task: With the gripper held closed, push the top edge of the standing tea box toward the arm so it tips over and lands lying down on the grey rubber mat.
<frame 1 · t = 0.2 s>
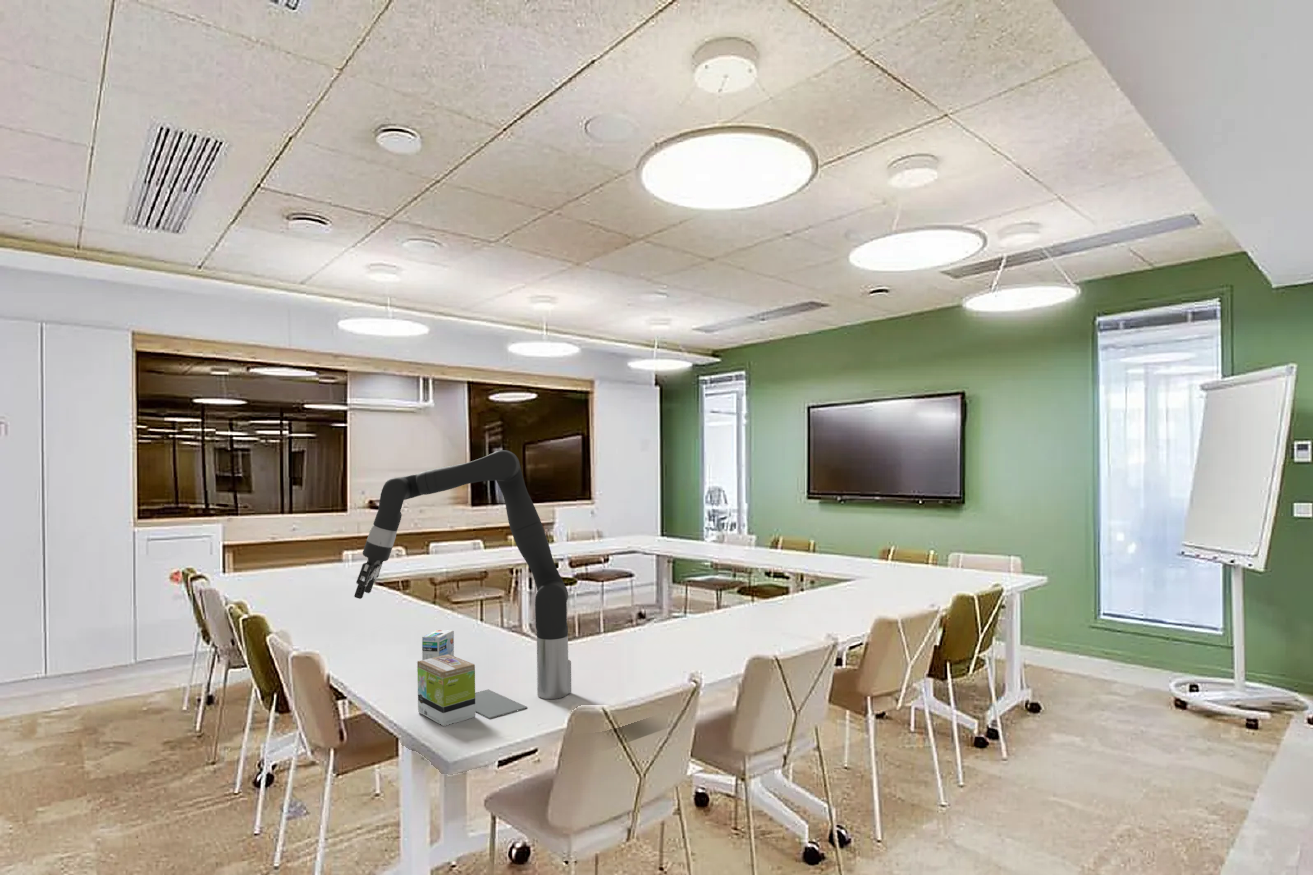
hand: (362, 595, 213), 31 cm above the table, tool tilted 20°, fingers open, 8 cm apart
mat: (488, 704, 208), on the table
light bulb box: (438, 665, 250), on the table
tea box: (446, 716, 199), on the table
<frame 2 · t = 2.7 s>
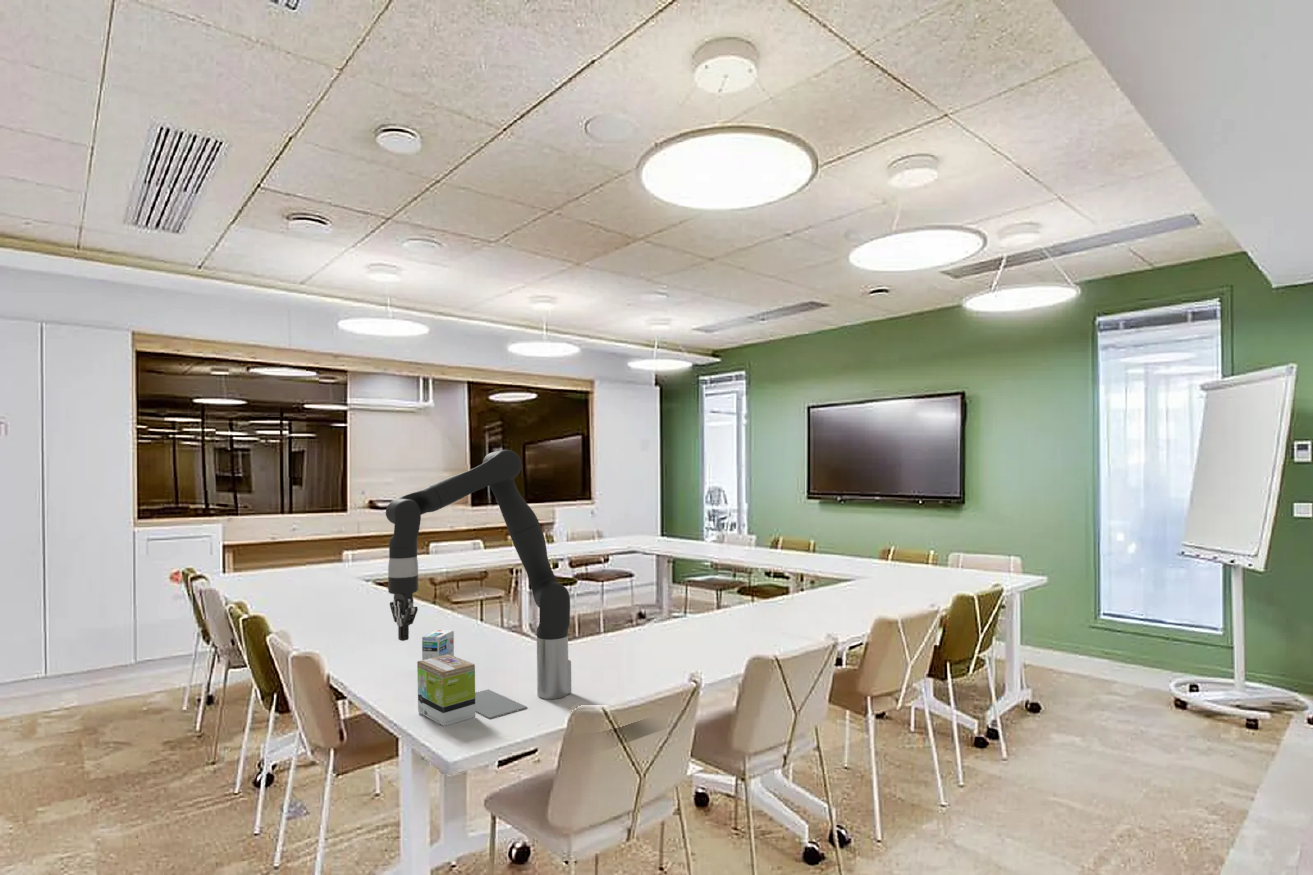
hand: (403, 639, 192), 23 cm above the table, tool pointing down, fingers closed
nothing on the table moved.
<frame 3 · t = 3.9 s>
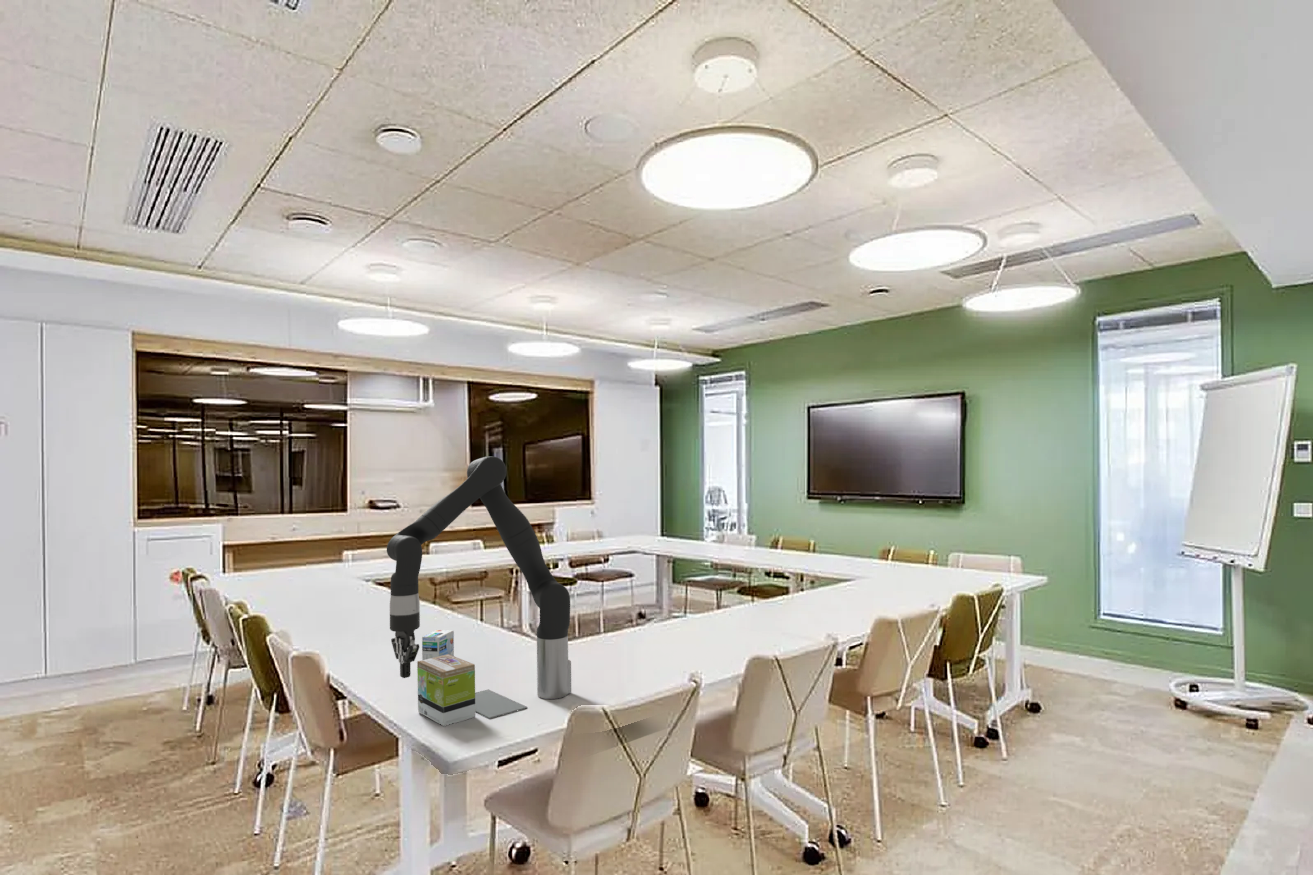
hand: (405, 676, 192), 13 cm above the table, tool pointing down, fingers closed
nothing on the table moved.
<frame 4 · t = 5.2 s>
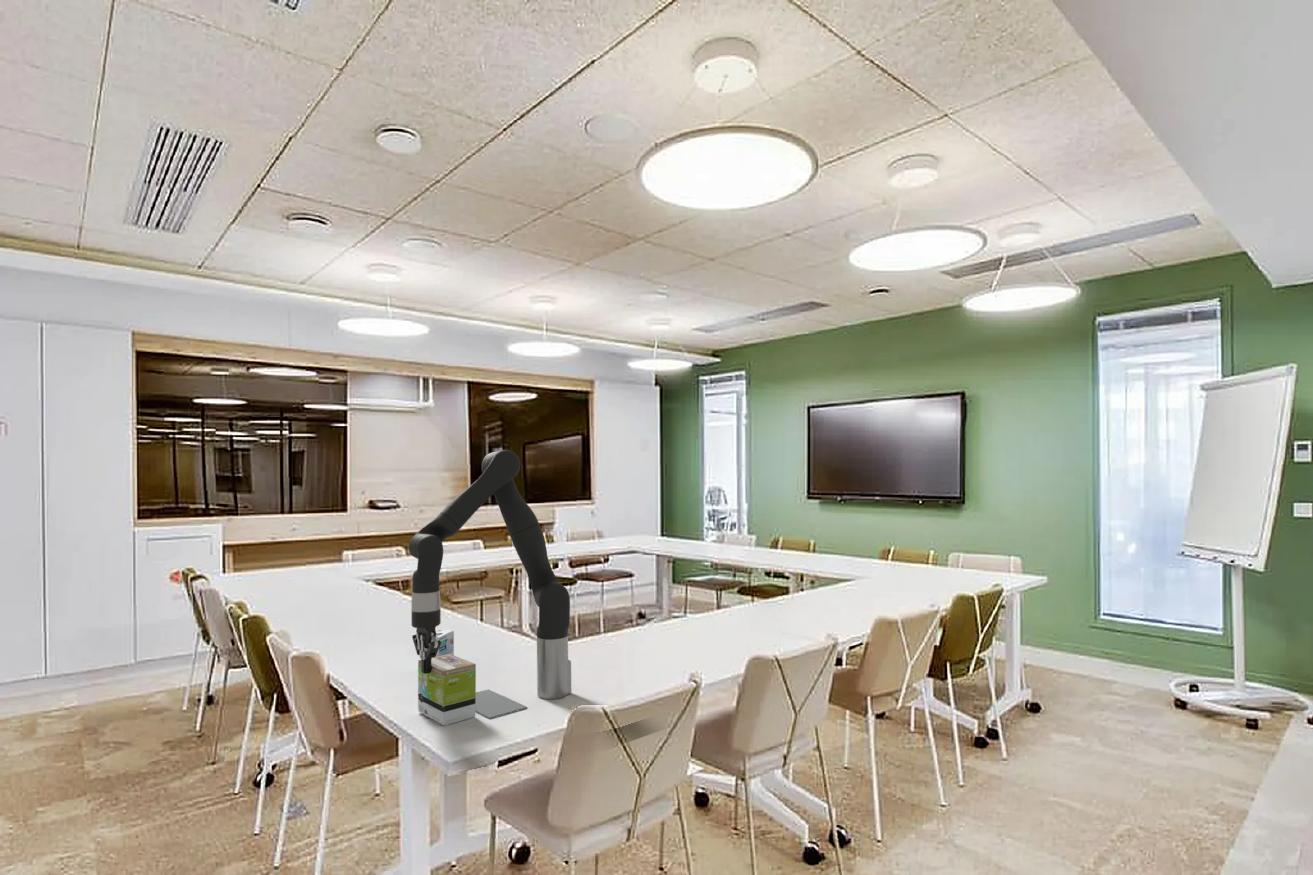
hand: (426, 672, 196), 13 cm above the table, tool pointing down, fingers closed
nothing on the table moved.
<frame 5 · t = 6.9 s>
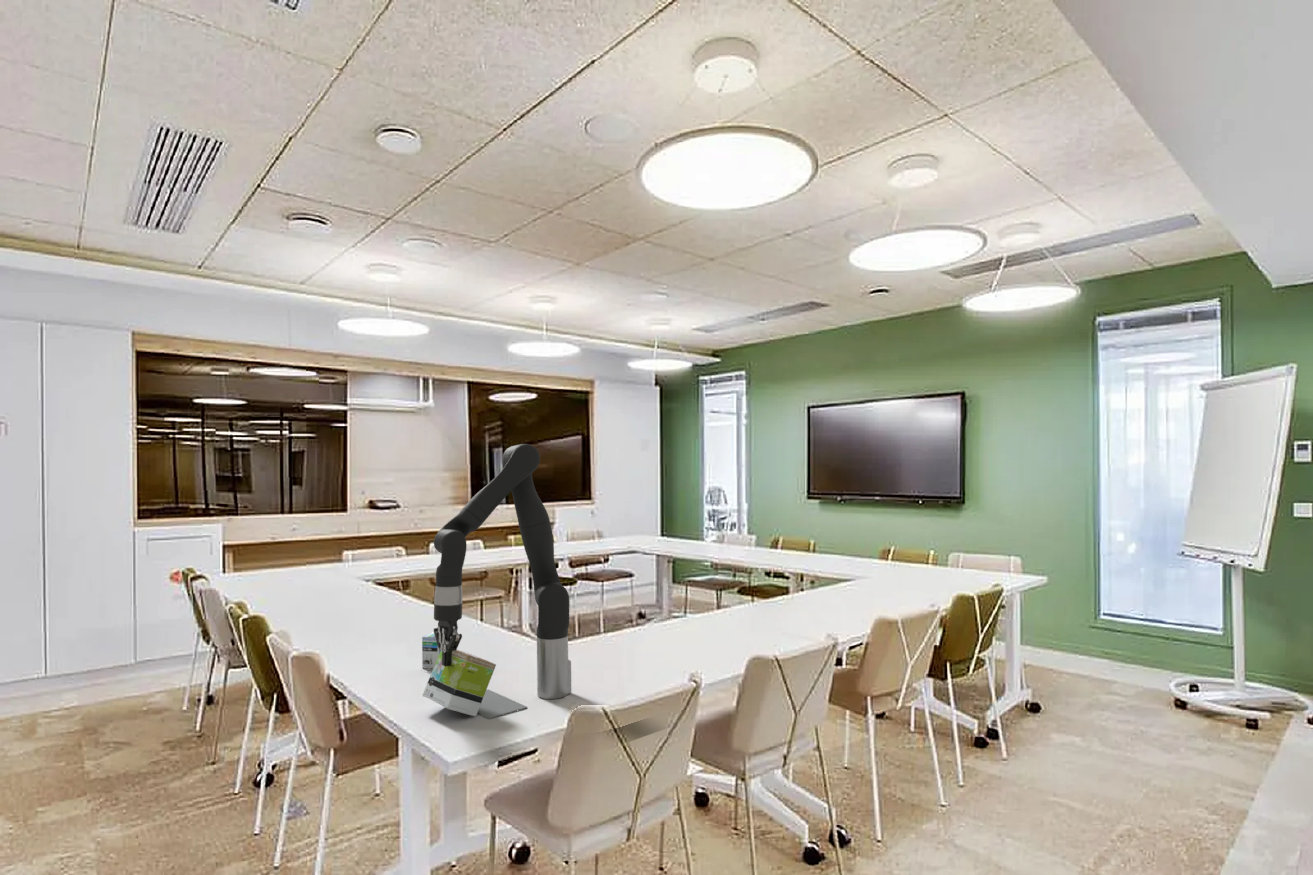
hand: (446, 665, 200), 14 cm above the table, tool pointing down, fingers closed
tea box: (447, 707, 200), point 2 cm above the table, touching gripper
everything else where it was.
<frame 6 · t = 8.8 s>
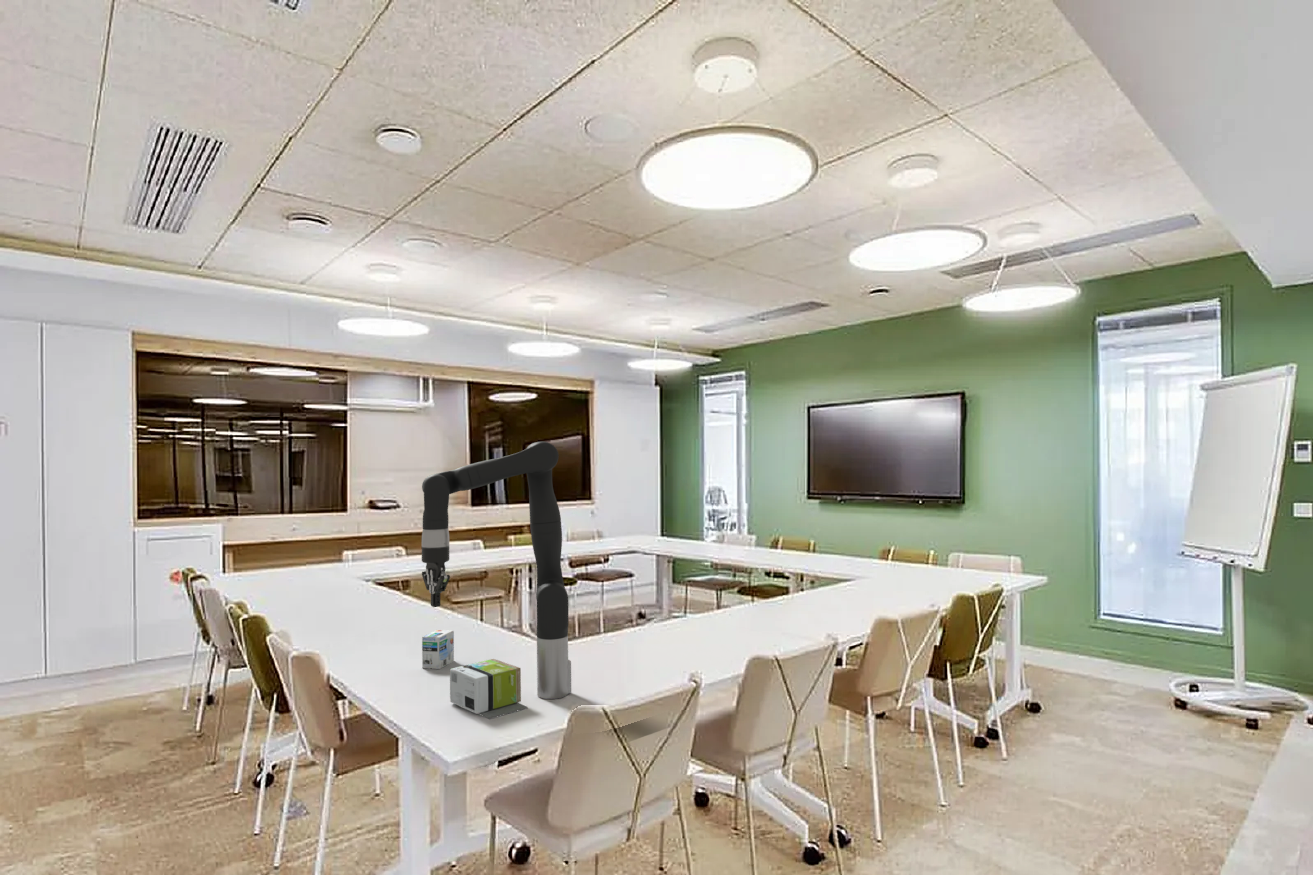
hand: (435, 606, 205), 29 cm above the table, tool pointing down, fingers closed
tea box: (461, 690, 203), point 5 cm above the table, touching mat
everything else where it was.
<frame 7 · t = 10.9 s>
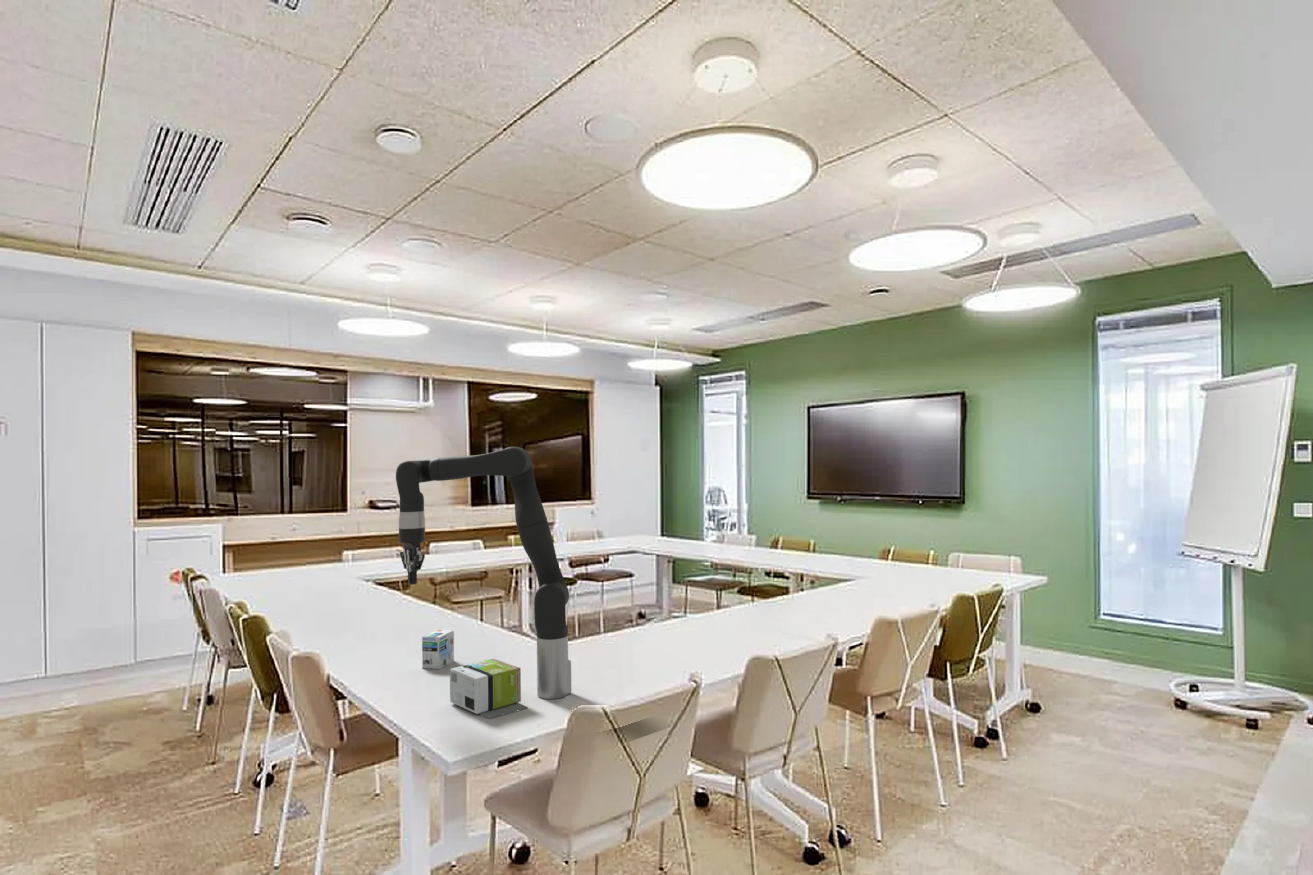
hand: (412, 584, 219), 33 cm above the table, tool pointing down, fingers closed
nothing on the table moved.
at the end: tea box tilted 91°; tea box inside the target area (3.2 cm from its centre), point 5.5 cm above the table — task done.
